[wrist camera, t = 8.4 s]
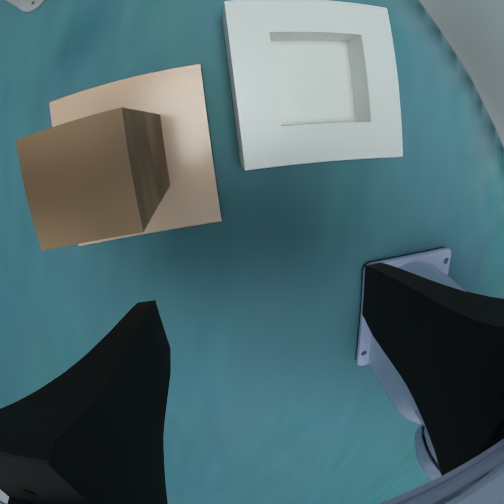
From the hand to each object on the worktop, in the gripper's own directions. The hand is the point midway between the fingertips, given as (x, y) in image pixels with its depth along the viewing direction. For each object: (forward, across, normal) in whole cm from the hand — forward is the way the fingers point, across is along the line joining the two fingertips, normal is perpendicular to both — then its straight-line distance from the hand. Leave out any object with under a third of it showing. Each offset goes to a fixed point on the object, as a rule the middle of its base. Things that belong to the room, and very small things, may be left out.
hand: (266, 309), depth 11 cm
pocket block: (+9, -5, -8) cm, 13 cm away
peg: (+9, +6, -5) cm, 12 cm away
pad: (+9, +6, -5) cm, 12 cm away
